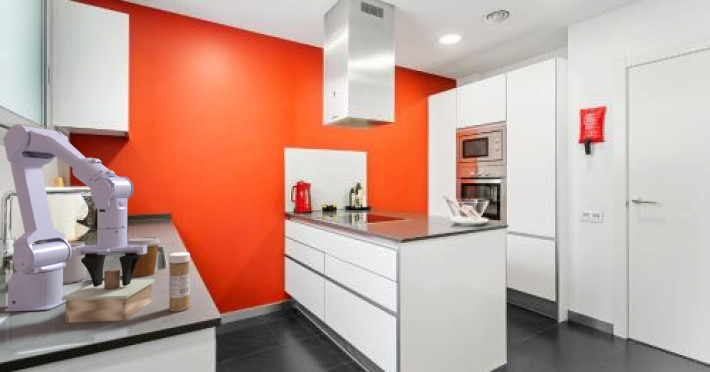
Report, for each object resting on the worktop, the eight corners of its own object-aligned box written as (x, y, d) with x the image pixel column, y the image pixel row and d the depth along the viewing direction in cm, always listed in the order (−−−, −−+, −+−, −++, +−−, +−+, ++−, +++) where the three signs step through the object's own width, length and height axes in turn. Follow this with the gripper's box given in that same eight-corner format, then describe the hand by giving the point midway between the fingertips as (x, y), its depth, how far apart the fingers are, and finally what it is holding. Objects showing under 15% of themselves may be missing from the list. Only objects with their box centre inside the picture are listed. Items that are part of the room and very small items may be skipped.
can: (68, 285, 99) (68, 245, 99) (48, 284, 101) (48, 244, 101) (93, 278, 107) (93, 241, 107) (74, 277, 108) (74, 240, 108)
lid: (61, 300, 72) (61, 279, 72) (99, 283, 85) (99, 265, 85) (126, 298, 74) (126, 277, 74) (154, 281, 87) (154, 263, 87)
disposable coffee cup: (141, 270, 117) (141, 236, 117) (166, 271, 116) (166, 237, 116) (118, 277, 108) (119, 240, 108) (145, 279, 107) (145, 241, 107)
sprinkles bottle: (186, 304, 85) (186, 250, 85) (192, 309, 81) (192, 253, 81) (165, 308, 81) (166, 253, 81) (171, 313, 78) (172, 256, 78)
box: (65, 322, 73) (65, 299, 73) (100, 303, 85) (100, 283, 85) (125, 320, 74) (125, 297, 74) (151, 301, 86) (151, 282, 86)
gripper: (66, 230, 75) (66, 291, 75) (136, 229, 76) (136, 289, 76) (87, 226, 82) (87, 282, 82) (151, 225, 83) (151, 280, 83)
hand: (112, 285), depth 79 cm, fingers open, 6 cm apart
